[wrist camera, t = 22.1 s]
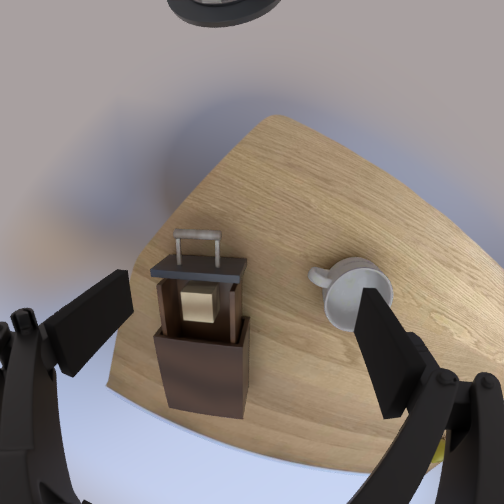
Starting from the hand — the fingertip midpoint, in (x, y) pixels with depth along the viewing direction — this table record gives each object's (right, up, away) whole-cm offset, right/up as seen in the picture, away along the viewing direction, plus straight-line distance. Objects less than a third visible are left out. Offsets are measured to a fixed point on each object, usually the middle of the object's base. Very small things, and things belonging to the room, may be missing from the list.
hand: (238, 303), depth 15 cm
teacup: (+16, -1, +31) cm, 35 cm away
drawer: (-7, -3, +33) cm, 34 cm away
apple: (+60, -59, +43) cm, 95 cm away
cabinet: (-7, -17, +38) cm, 42 cm away
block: (-7, -4, +32) cm, 33 cm away
